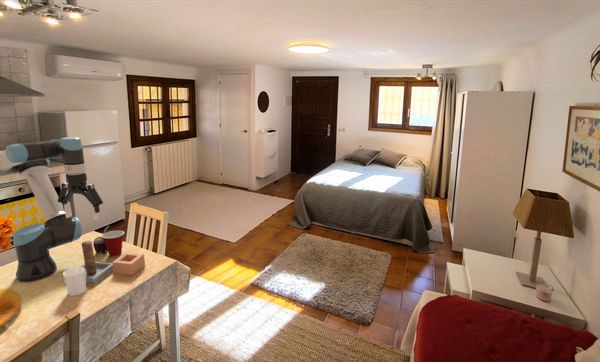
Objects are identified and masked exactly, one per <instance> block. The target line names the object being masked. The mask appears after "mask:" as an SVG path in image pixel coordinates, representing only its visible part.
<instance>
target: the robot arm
mask: <svg viewBox="0 0 600 362" xmlns="http://www.w3.org/2000/svg"><path fill="white" fill-rule="evenodd" d="M56 158H58V159H59V158H61V159H62V162H63V163H62V164H63V167H64V173H65V182H62V183H61V184H60V185H61V188H60V190H59V195H58V193H57V191H56V190H55V188H54V185H53V183H52V181H51V178H50V177H49V175H48V173H47V172H49V167H50V165H51V162H50V160H51V159H56ZM49 159H50V160H49ZM86 172H87V169H86V165H85V156H84V149H83V144H82V139H81V137H75V136H69V137H61V138H60V139H58V138H57V139H55V138H54V139H50V140H46V141H37V142H26V143H24V142H23V143H14V144H13V143H12V144H9V145H7V146H6V147H5V149H1V150H0V174H4V175H5V174H8V175H9V174H17V173H19V175H20V177H22V178H23V179H26V180H27V183H28V185H29V186H30V187H29V188H30V189H31V191H32V193H33V195H34V197H35V199H36V201H37V204H38V205H39V207H40V210H41V212H42V214H43V216H44V219H45V220H44V221H43V224H42V223H33V224H29V225H26V226H23V227H20V228H19V229H17V230H16V231H15V232H14V233H13V235H12V242H13V243H12V244H13V245H14V249H15V254H16V258H17V268H16V272H15V278H16V280H17V281H18V282H21V283H31V282H35V281H40V280H43V279H46V278H48V277H49V276H50V277H51V276H52V275H53V274H55V272H57V270H58V267H57V263H56V262H55V260H54V259H53V258H52V256H51V254H50V250H51V249H55V248H57V247H60V246H63V245H66V244H69V243H73V242H75V241H77V240H79V239H80V238H81V237H82V233H83V226H82V223H81V220H80V218H79V217H77V216H73V211H72V206H71V202H70V200H71V199H72V197H73V196H74V195H75V194H77V195H82V196H84V197H85V198H86V199H87V200H88V202H89V203H90V204H91V205H92V206H91V211H92V218H93V221H97V220H99V219H100V212H101V211H100V210H101V209H100V205H103V204H104V201H103V199H102V198H101V197H100V195H99V193H98V191H97V189H96V187H95V184H94V183H90V184H87V180H88V178H87V173H86Z"/></svg>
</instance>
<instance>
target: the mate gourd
mask: <svg viewBox="0 0 600 362" xmlns="http://www.w3.org/2000/svg"><path fill="white" fill-rule="evenodd" d="M109 228H110V225H108V226H106V227H105V229H104V230H103V234H104V233H107V230H108V229H109ZM92 246H93V250H94V252H95V254H96V255H98V254H100V253H103V254H106V251H107V252H108V250H107V248H106V245H105V242H104V240H103V238H102V237H101V236H98V237H95V238H94V240H93V241H92Z"/></svg>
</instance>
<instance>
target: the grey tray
mask: <svg viewBox="0 0 600 362" xmlns="http://www.w3.org/2000/svg"><path fill="white" fill-rule="evenodd" d="M95 265H96V271H97V273H96V274H94V275H87V272H86V267H85V263H83V264H82V265H80V266H79V267H84V268H85V275H86V285H96V284H97V283H99V282H101V280H103V279H104V278H106V277H107V276H109V274H111V273H113V272H114V271H113V264H112V262H104V261H103V262H102V261H95Z"/></svg>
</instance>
